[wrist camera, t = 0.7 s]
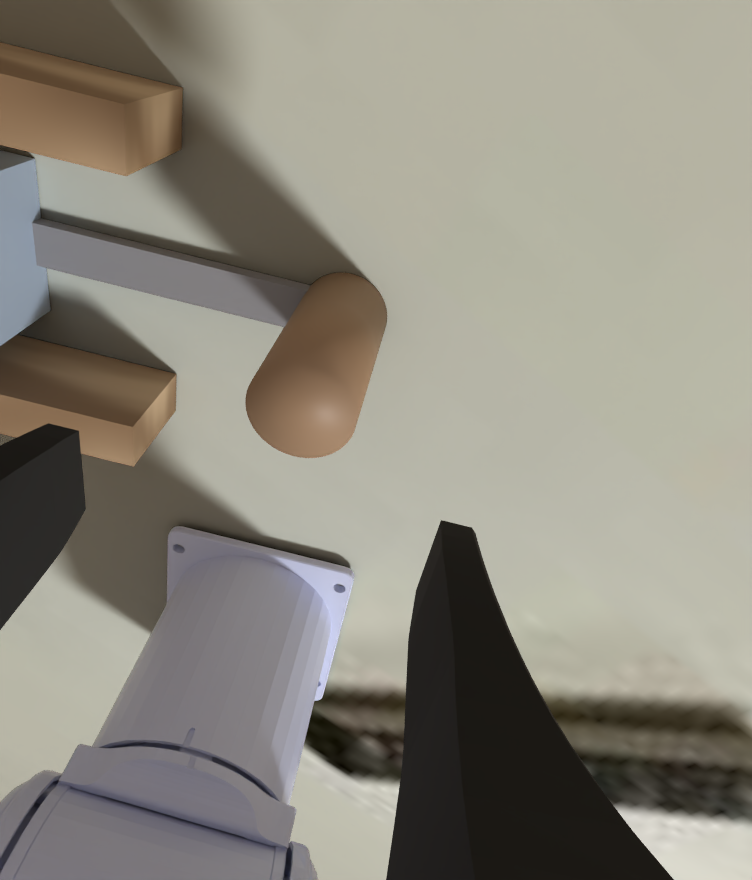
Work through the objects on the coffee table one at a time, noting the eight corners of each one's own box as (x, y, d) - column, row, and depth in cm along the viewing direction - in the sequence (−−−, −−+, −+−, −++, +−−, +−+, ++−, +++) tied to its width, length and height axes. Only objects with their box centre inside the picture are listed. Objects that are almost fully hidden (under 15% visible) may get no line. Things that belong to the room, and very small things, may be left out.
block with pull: (371, 389, 22) (339, 500, 17) (-91, 275, 22) (-255, 353, 17) (403, 250, 19) (376, 335, 14) (-127, 118, 19) (-337, 157, 14)
